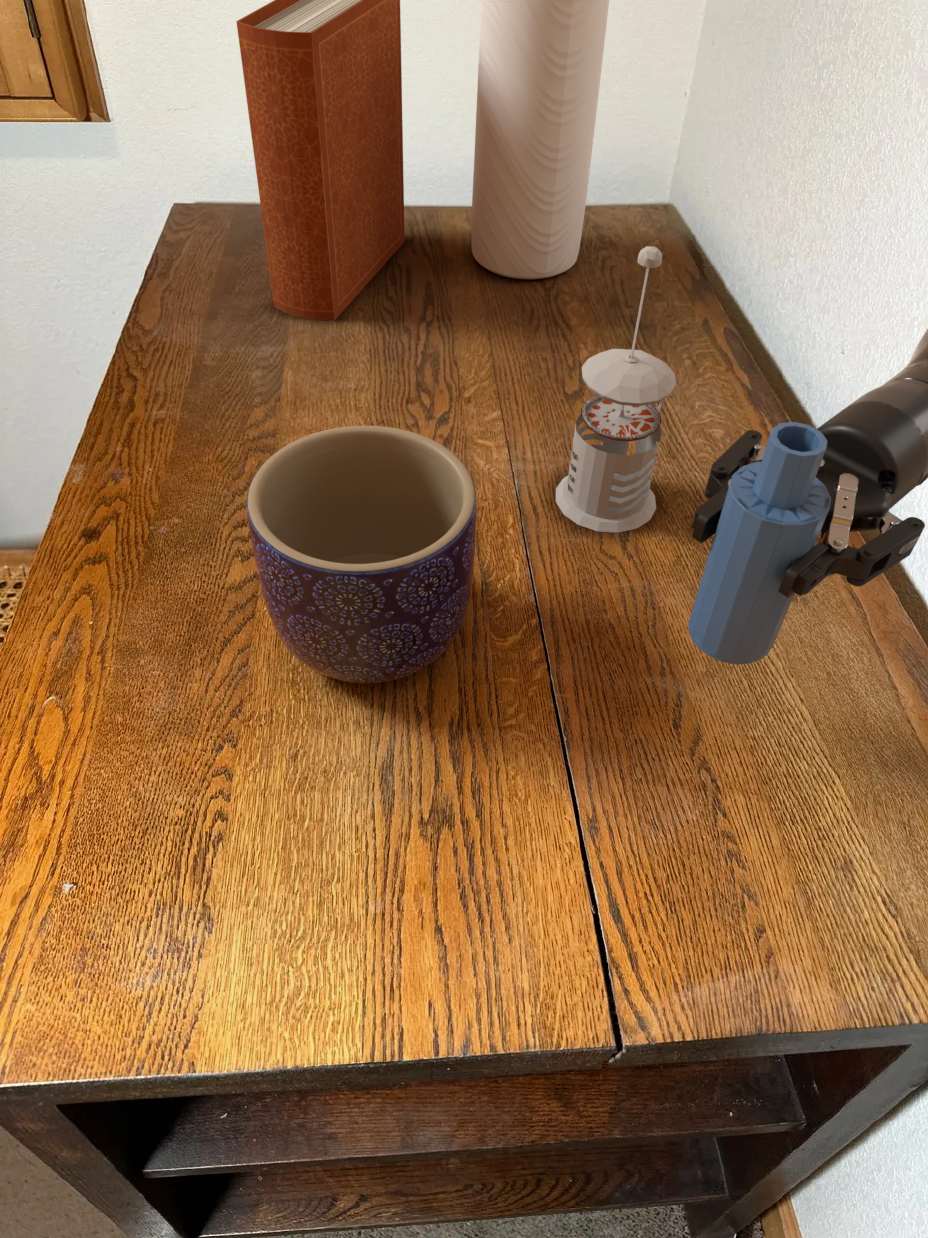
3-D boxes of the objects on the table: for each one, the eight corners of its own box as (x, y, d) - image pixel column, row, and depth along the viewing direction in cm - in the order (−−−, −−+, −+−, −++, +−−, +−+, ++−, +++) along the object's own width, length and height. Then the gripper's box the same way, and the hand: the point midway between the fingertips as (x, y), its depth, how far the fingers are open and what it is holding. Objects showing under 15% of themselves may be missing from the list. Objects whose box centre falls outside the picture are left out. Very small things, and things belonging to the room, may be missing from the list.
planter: (433, 544, 85) (433, 406, 74) (500, 678, 74) (512, 540, 64) (252, 586, 81) (224, 446, 70) (296, 734, 70) (272, 596, 59)
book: (348, 230, 127) (332, -33, 105) (404, 241, 125) (399, -24, 103) (269, 310, 112) (230, 24, 90) (331, 323, 110) (307, 35, 88)
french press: (535, 503, 89) (563, 250, 71) (598, 446, 96) (639, 200, 77) (623, 547, 85) (678, 292, 67) (683, 485, 92) (748, 236, 73)
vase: (582, 285, 118) (620, -5, 95) (469, 281, 118) (480, -11, 95) (574, 234, 128) (607, -41, 105) (470, 230, 128) (480, -46, 105)
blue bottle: (778, 615, 68) (856, 421, 55) (766, 674, 64) (847, 481, 52) (697, 593, 69) (754, 399, 57) (680, 650, 65) (738, 456, 53)
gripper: (806, 361, 68) (662, 456, 60) (997, 453, 61) (863, 575, 53) (778, 445, 73) (642, 543, 65) (950, 538, 66) (822, 660, 58)
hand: (742, 556), depth 59 cm, fingers closed on blue bottle, 6 cm apart
